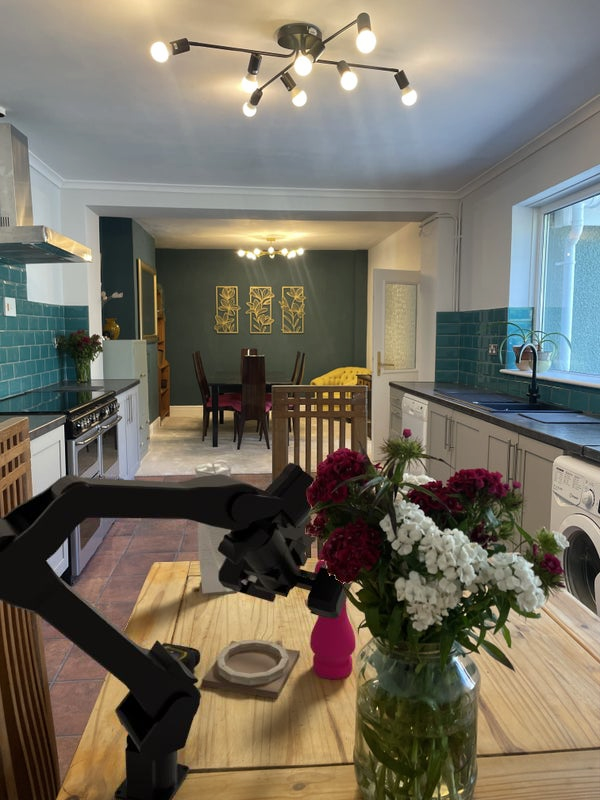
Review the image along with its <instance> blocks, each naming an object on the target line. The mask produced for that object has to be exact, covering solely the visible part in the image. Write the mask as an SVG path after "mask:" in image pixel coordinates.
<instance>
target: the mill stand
mask: <svg viewBox="0 0 600 800" xmlns="http://www.w3.org/2000/svg"><path fill="white" fill-rule="evenodd" d="M300 653H301V651H300V650H296V649H289V648H285V647H283V646H282V645H280V644H277V642H274V641H270V640H265V639H262V640H261V639H257V638H255V639H247V640H240V641H236V640H231V641H230V643H229V644H228V645H227V646H225V647H223V648H222V649H221V651H220V653H219V654H217V656H216V660H215V662H214V663H213V665H211V667H210V668H209V669H208V671H207V673H206V674H205V675H204V676H203V677H202V678H201V686H202V687H208V688H211V689H212V688H214V689H219V690H225V691H231V692H236V693H242V694H247V695H255V696H260V697H266V698H269V699H277V700H278V698H279V697H280V696H281V693H282V691H283V689H284V688H285V686H286V684H287V681H288V680H289V678H290V676H291V674H292V673H293V671H294V668H295V666H296V665H297V662H298V660H299V659H300Z"/></svg>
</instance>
